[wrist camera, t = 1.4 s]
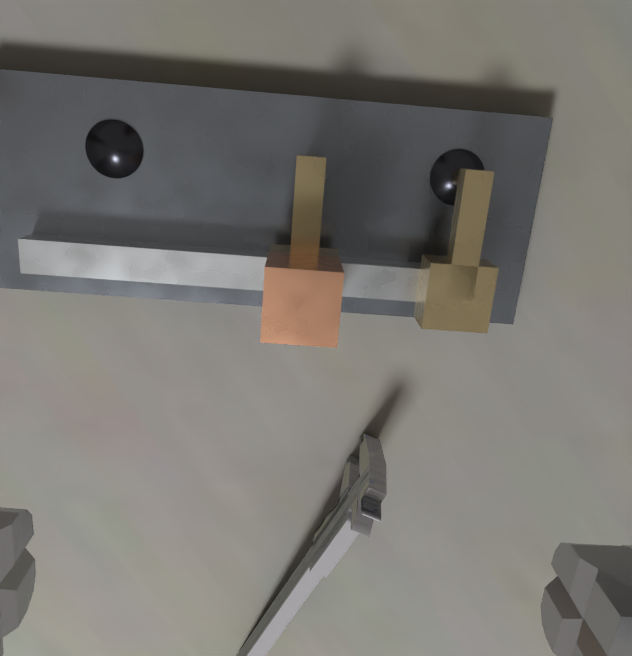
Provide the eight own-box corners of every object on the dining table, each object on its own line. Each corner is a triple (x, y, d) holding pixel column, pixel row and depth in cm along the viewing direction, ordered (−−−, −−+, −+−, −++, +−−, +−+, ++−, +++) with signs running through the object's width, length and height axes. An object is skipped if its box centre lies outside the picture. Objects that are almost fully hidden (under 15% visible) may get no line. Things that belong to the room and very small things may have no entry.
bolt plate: (540, 118, 28) (588, 114, 24) (503, 315, 31) (539, 347, 27) (-8, 70, 27) (-74, 56, 22) (9, 280, 30) (-46, 306, 25)
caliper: (362, 427, 34) (374, 489, 28) (378, 434, 34) (395, 498, 28) (223, 675, 39) (209, 772, 33) (238, 680, 39) (227, 778, 33)
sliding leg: (343, 157, 27) (355, 162, 21) (329, 304, 29) (336, 347, 23) (277, 151, 27) (270, 155, 21) (269, 299, 29) (260, 342, 23)
